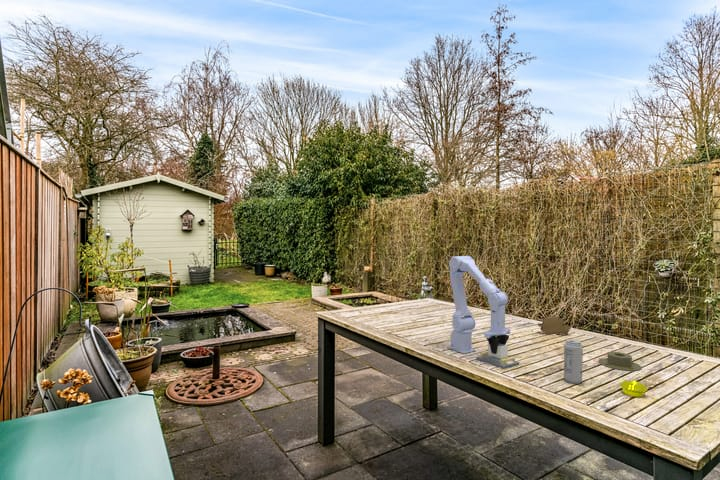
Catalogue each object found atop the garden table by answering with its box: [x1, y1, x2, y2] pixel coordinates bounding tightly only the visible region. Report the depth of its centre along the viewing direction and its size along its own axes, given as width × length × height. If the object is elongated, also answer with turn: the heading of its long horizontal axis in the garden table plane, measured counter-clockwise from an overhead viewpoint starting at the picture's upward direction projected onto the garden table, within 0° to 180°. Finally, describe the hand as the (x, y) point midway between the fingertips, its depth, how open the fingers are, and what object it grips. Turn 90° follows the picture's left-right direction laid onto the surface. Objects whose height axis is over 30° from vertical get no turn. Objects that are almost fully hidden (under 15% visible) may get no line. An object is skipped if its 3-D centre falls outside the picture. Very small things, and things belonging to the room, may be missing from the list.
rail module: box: [487, 342, 509, 359], centre depth 166 cm, size 7×4×5 cm, turn 32°
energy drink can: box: [563, 338, 584, 385], centre depth 145 cm, size 6×6×15 cm
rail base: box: [476, 351, 520, 370], centre depth 166 cm, size 14×10×3 cm
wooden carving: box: [537, 315, 572, 335], centre depth 212 cm, size 16×5×10 cm, turn 80°
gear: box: [619, 379, 648, 398], centre depth 134 cm, size 8×4×8 cm
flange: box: [598, 351, 642, 372], centre depth 163 cm, size 5×15×15 cm
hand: (497, 352), depth 166 cm, fingers closed on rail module, 4 cm apart
